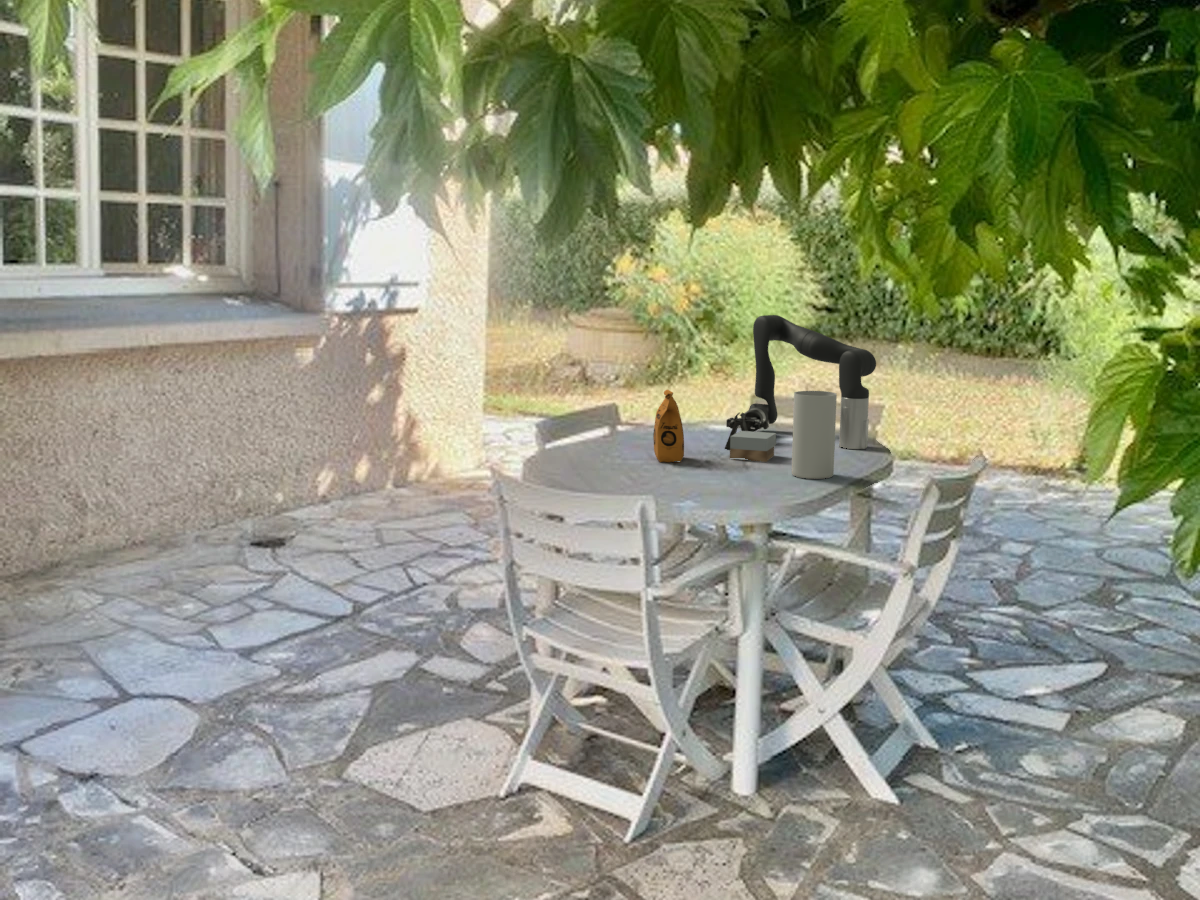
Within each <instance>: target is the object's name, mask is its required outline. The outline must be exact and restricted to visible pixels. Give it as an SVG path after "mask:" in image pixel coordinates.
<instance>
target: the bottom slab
mask: <svg viewBox="0 0 1200 900" xmlns="http://www.w3.org/2000/svg"><path fill="white" fill-rule="evenodd" d="M774 456H775V446H774V447H772V448H771V449H769V450H768V451H756V450H743V449H730V450H729V459H730V458H745V459H748V460H751V461H750V462H760V461H761V462H762V463H763V462H764V463H767V462H768V461H770V460H771V459H772V458H773V457H774ZM770 458H771V459H770ZM769 459H770V460H769Z"/></svg>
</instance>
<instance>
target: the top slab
mask: <svg viewBox="0 0 1200 900" xmlns="http://www.w3.org/2000/svg"><path fill="white" fill-rule="evenodd" d="M729 436H730V435H729ZM776 446H777V433H776V432H768V431H767V432H764V431H754V432H751V431H741V430H740V431H738V432H736V434H734V435H732V436H730V449H743V450H756V451H768V450H769V449H771V448H772V447H774V448H775V447H776Z"/></svg>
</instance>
